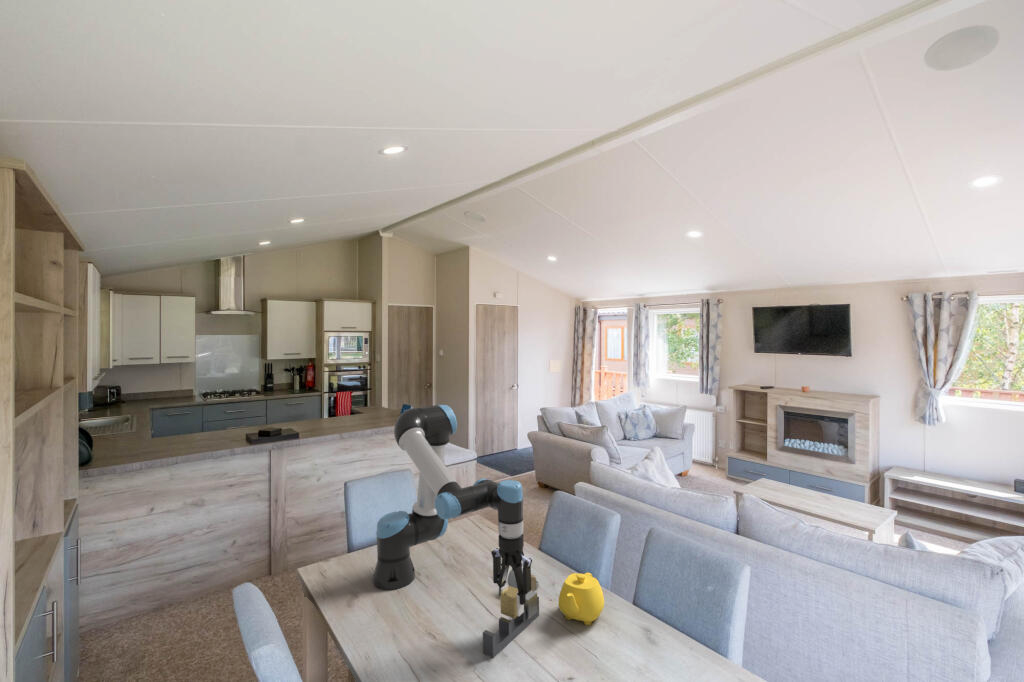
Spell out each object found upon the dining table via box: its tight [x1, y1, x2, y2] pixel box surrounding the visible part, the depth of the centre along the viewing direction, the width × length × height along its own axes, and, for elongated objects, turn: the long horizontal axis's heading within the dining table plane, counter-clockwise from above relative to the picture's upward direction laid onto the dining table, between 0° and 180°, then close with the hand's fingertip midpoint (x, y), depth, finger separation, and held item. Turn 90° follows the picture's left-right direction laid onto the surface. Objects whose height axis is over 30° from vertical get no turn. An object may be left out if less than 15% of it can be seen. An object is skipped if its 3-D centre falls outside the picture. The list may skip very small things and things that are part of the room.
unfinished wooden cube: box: [499, 585, 518, 619], centre depth 143 cm, size 5×5×6 cm
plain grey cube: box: [524, 590, 538, 619], centre depth 149 cm, size 5×5×6 cm
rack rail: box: [482, 595, 540, 659], centre depth 143 cm, size 4×24×6 cm, turn 144°
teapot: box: [558, 572, 605, 626], centre depth 151 cm, size 14×20×13 cm
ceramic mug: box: [507, 567, 540, 592], centre depth 167 cm, size 11×8×8 cm
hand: (512, 610), depth 143 cm, fingers closed on unfinished wooden cube, 5 cm apart
